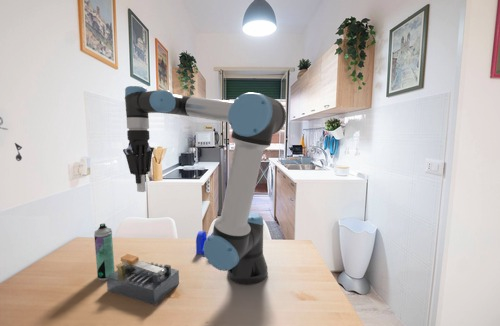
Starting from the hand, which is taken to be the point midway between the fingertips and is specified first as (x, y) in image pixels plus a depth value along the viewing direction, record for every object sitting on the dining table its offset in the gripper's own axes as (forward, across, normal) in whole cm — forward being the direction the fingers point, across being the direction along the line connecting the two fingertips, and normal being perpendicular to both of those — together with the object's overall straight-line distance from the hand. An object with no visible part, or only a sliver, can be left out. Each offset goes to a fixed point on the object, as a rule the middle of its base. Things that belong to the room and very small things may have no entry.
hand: (141, 191), depth 95 cm
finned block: (+30, +11, +10) cm, 34 cm away
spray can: (+31, +11, -8) cm, 33 cm away
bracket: (+31, -25, +16) cm, 43 cm away
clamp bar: (+24, +11, +10) cm, 28 cm away
